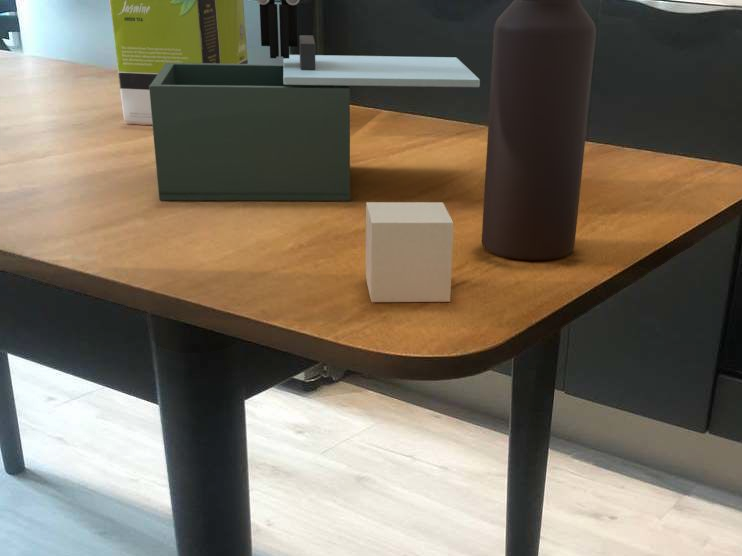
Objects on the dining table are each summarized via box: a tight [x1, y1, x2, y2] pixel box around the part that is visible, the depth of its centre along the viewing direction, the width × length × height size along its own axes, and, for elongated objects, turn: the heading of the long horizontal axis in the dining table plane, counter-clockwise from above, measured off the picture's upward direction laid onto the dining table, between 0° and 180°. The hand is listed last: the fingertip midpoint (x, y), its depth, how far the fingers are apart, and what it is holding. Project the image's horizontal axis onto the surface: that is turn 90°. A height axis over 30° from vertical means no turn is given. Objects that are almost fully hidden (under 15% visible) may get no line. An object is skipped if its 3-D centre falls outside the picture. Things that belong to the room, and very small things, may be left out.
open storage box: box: [149, 63, 351, 202], centre depth 93 cm, size 16×14×9 cm
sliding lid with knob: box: [282, 34, 481, 88], centre depth 91 cm, size 16×14×3 cm
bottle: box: [481, 0, 597, 262], centre depth 74 cm, size 7×7×20 cm
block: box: [365, 201, 455, 303], centre depth 69 cm, size 5×5×5 cm
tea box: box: [108, 0, 249, 126], centre depth 119 cm, size 15×10×15 cm
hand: (279, 55), depth 90 cm, fingers closed
